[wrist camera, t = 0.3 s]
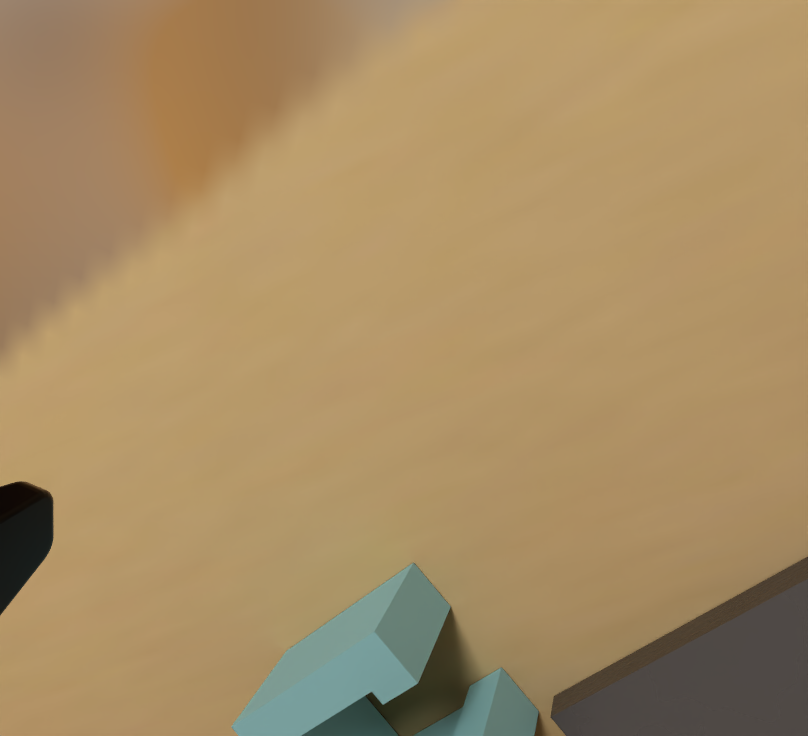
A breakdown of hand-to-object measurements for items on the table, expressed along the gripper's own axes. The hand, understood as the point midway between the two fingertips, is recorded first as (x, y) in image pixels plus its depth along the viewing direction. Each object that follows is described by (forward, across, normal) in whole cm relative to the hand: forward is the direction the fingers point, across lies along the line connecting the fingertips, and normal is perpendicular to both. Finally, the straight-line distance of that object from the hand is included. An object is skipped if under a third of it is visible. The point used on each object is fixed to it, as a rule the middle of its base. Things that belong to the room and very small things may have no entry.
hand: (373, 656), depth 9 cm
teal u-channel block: (+12, 0, +14) cm, 19 cm away
